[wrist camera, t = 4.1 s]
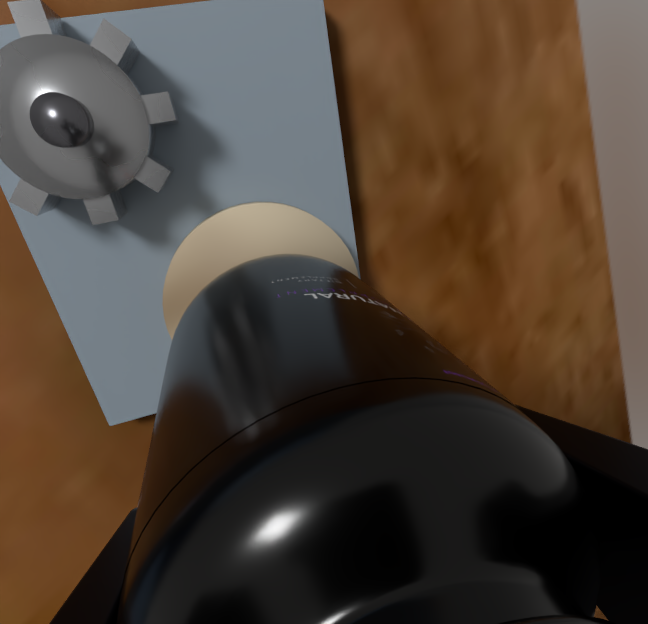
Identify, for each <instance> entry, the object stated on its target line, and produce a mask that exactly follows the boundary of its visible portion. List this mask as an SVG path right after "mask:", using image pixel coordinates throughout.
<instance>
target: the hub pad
mask: <svg viewBox="0 0 648 624" xmlns="http://www.w3.org/2000/svg"><path fill="white" fill-rule="evenodd" d="M276 254H301V255H308V256H313V257H318V258H322V259H324V260H327V261H330V262H332V263H335V264H337V265H339V266H341V267H343V268H345V269H346V270H348V271H349V272H351V273H353V274H354V275H355V276H357V277H358V278H359V276H358V272H357V268H356V265H355V263H354V260H353V258H352V256H351V254H350V252H349V250H348V248H347V247H346V245H345V244H344V242H343V241H342V240H341V238H340V237H339V236H338V235H337V234H336V233H335V232H334V231H333V230H332V229H331V228H330V227H329V226H327V225H326V224H325V223H324V222H322V221H321V220H319V219H318V218H316V217H314V216H313V215H311V214H309V213H308V212H306V211H304V210H301V209H299V208H297V207H294V206H290V205H287V204H283V203H276V202H249V203H242V204H238V205H235V206H231V207H228V208H226V209H223V210H221V211H219V212H216V213H215V214H213V215H211V216H210V217H208V218H206V219H205V220H203V221H202V222H201V223H200V224H198V225H197V226H196V227H195V228H194V229H193V230H192V231H191V232H190V233H189V234H188V235H187V236H186V237H185V238H184V240H183V241H182V243H181V244H180V245H179V247H178V248H177V250H176V252H175V254H174V256H173V258H172V260H171V262H170V265H169V268H168V271H167V274H166V278H165V283H164V288H163V303H162V305H163V314H164V319H165V323H166V327H167V330H168V332H169V335H170V337H171V339H173V336H174V333H175V330H176V328H177V326H178V324H179V321H180V319H181V317H182V315H183V314H184V312H185V310H186V309H187V307H188V306H189V304H190V303H191V302H192V300H193V299H194V298H195V297H196V295H197V294H198V293H199V292H200V291H201V290H202V289H203V288H204V287H205V286H206V285H208V284H209V283H210V282H211V281H212V280H214V279H215V278H216V277H218V276H219V275H220V274H222V273H224V272H225V271H227V270H229V269H231V268H233V267H235V266H237V265H239V264H241V263H244V262H246V261H249V260H252V259H256V258H259V257H263V256H269V255H276Z"/></svg>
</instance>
